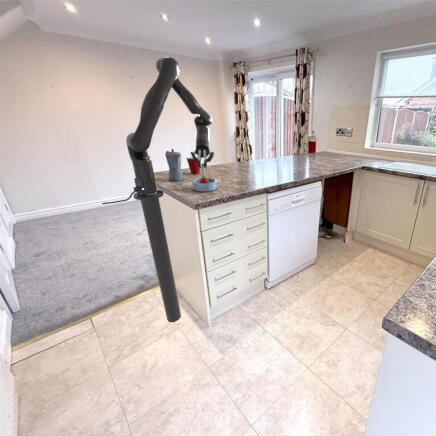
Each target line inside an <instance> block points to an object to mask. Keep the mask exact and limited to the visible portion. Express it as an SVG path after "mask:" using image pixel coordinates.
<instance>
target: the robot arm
mask: <svg viewBox="0 0 436 436" xmlns="http://www.w3.org/2000/svg"><path fill="white" fill-rule="evenodd" d="M155 69H156V71H157V72H158V75H157V78H156V80H155V82H154V83H153V85H151V87H150V88H149V89H148V91H147V92H146V94H145V96H144V99H143V101H142V104H141V107H140V116H139V122H138V125H137V127H136V129H135V131H134V132H131V133H129V134H128V135H127V136H126V141H125V142H126V147H127V151H128V155H129V159H130V161H131V163H132V168H133V172H134V177H135V178H134V179H133V180H134V185H135V186H134V187H133V191H132V192H131V193H130V194H129V197H128V198H126V199H121V200H115V201H114V200H113V201H106V202H101V204H102V205H109V204H116V203H123V202H127V201H129V200H130V199H132V197H133V195H134V194H135V193H137V194H138V195H140V196H144V197H145V196H151V195H155V194H157V193H158V191H157V190H158V184H157V183H156V182H157V181H156V178H155V173H154V167H153V161H152V158H151V156H150V154H149V151H148V149H150V146H151V143H152V139H153V135H154V132H155V129H156V127H157V125H158V123H159V120H160V117H161V116H162V113H163V110H164V108H165V106H166V103H167V100H168V98H169V95H170V92H171V89H172V90H173V91H174V92H175V93H176V94H177V96H178V97H179V98H180V100H181V101H182V103H183V104H184V105H185V107H186V108H187V110H188V111H189V112H190V114H192V115H196V116H195V117H194V119H193V122H194V126H195V130H196V137H195V150H194V151H190V155H191V157H193V159H194V160H195V162H198V167H199V168H200V169H202V166H201V164H202V158H203V164H204V169H206V168H207V167H208V163H211V162H212V160H213V159H214V157H215V152H214V151H211V150H210V144H211V143H210V142H211V141H210V129H209V128H208V126H211V125H212V123H213V118H212V116H211V115H210V114H209V113H208V112H207V111H206V110H205V109H204V108H203V107H202V106H201V104H200V103H199V102H198V101H197V99H196V97H195V96H194V94H193V93H192V92H191V91H190V90H189V89H188V88H187V87H186V86H185V85H184V84H183V82H182V81H181V80H180V78H179V77H178V76H179V75H180V64H179V63H178V61H177V60H176V58H174V57H171V56H163V57H160V58H158V59H156V61H155ZM196 157H198V159H197V158H196Z"/></svg>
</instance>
